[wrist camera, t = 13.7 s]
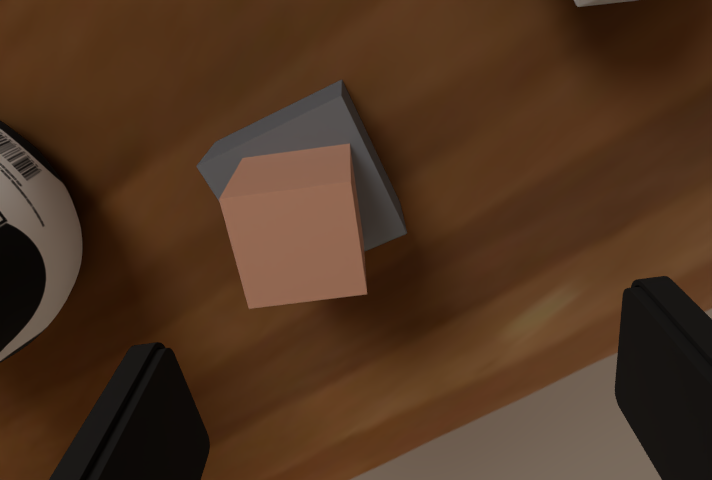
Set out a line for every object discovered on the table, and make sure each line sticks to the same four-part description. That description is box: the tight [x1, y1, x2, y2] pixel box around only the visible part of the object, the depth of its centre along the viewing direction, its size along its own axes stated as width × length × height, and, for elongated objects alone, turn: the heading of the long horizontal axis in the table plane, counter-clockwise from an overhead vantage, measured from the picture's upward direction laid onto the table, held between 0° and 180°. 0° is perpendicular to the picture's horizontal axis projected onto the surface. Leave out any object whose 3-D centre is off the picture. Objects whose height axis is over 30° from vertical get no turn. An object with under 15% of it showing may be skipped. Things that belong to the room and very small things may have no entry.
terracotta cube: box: [219, 143, 367, 309], centre depth 27 cm, size 6×6×6 cm
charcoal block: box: [197, 80, 407, 252], centre depth 32 cm, size 9×9×5 cm
